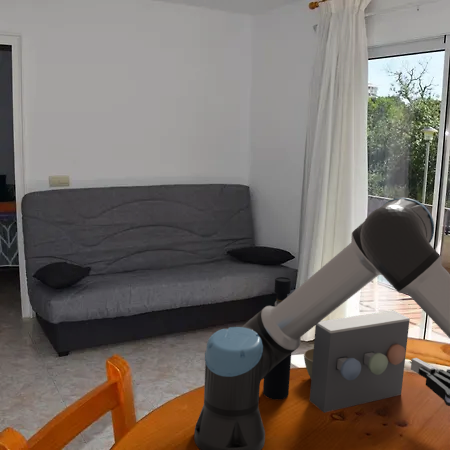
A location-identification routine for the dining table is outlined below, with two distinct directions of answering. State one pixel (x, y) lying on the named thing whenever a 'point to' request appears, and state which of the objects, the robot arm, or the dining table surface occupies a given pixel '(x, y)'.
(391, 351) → the terracotta button
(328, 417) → the dining table surface
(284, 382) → the wine bottle
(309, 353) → the flower pot
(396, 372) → the control panel
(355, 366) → the slate button
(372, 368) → the sage button
